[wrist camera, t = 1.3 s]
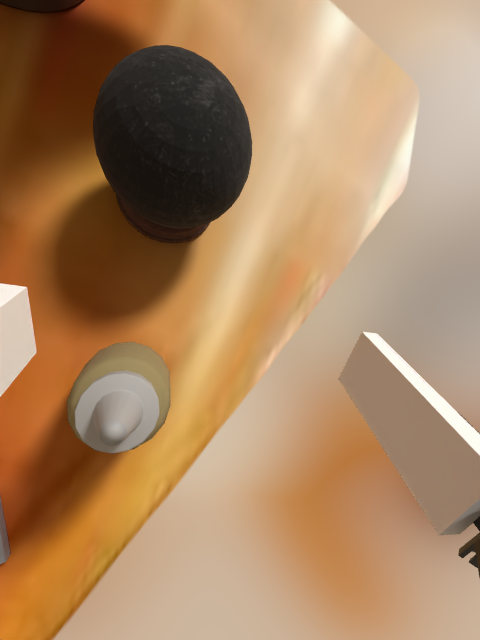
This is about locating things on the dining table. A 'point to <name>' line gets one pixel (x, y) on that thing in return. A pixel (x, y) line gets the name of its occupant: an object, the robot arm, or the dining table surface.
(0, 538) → the socket
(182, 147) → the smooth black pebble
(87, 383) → the squeeze bottle
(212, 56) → the dining table surface
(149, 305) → the dining table surface
